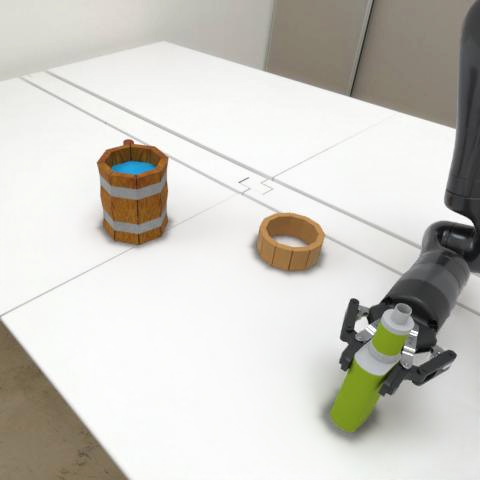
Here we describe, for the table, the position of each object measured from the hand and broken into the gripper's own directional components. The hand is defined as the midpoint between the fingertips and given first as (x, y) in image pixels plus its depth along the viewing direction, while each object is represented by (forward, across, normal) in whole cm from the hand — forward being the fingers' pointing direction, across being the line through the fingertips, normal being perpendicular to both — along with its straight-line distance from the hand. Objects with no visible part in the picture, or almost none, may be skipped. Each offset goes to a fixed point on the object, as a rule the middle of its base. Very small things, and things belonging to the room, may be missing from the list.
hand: (363, 378), depth 53 cm
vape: (-3, 0, +11) cm, 12 cm away
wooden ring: (-26, -24, +11) cm, 38 cm away
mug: (-14, -54, +11) cm, 57 cm away
